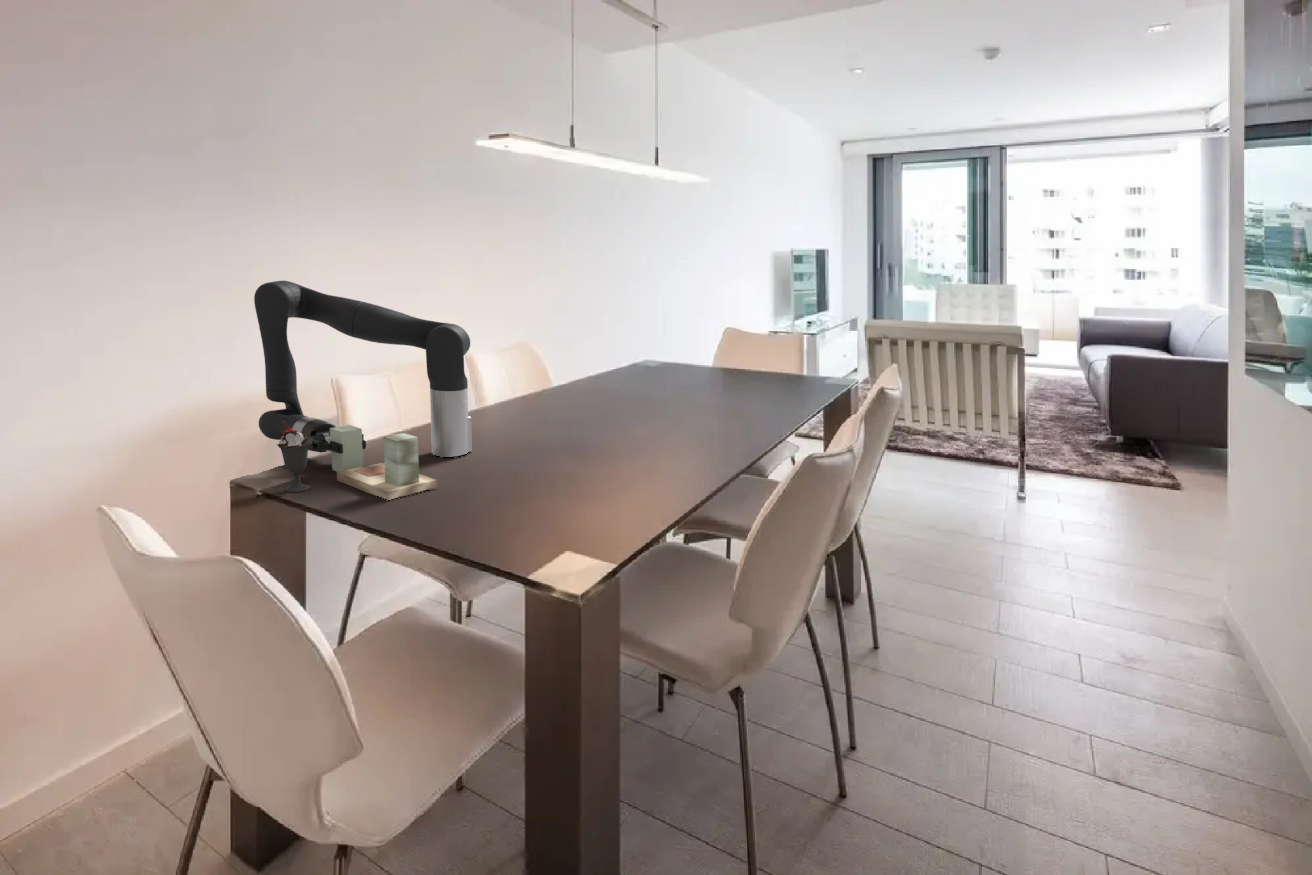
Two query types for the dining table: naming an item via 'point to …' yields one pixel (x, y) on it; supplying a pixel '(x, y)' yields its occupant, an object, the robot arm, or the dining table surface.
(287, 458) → the sundae
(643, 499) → the dining table surface
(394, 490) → the board
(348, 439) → the green block
